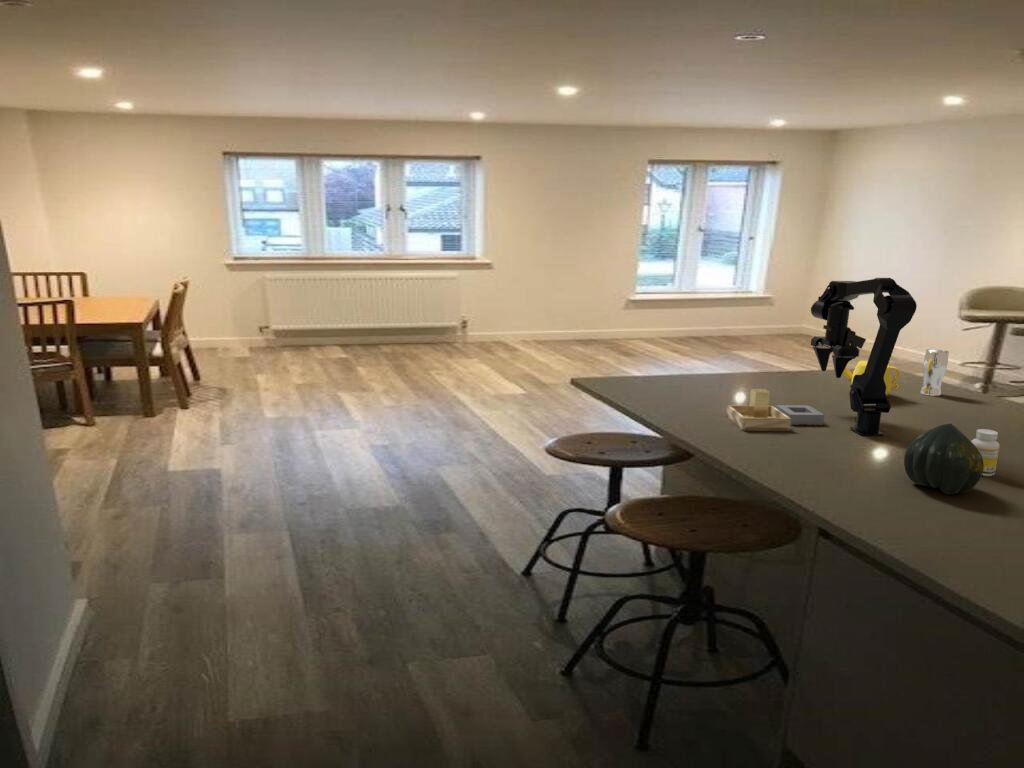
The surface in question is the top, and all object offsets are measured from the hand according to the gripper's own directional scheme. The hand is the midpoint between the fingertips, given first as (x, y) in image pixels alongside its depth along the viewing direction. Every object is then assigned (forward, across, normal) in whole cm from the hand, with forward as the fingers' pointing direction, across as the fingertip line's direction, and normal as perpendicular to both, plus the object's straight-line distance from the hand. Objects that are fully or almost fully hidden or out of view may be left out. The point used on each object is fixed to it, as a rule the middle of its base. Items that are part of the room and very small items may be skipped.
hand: (830, 374), depth 214 cm
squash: (+12, -60, +3) cm, 61 cm away
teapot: (+12, +22, -24) cm, 35 cm away
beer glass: (+12, +24, -48) cm, 55 cm away
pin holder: (+12, -8, +12) cm, 19 cm away
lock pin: (+11, -12, +26) cm, 31 cm away
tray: (+12, -12, +26) cm, 31 cm away
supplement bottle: (+12, -51, -13) cm, 54 cm away
